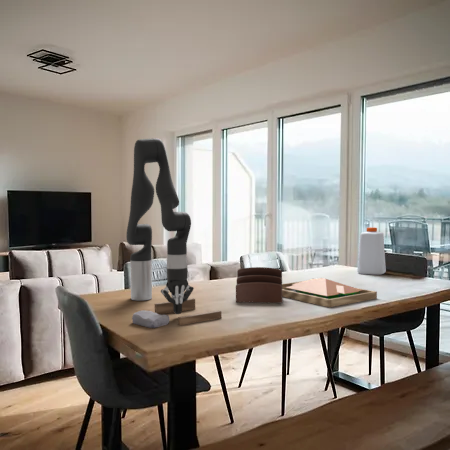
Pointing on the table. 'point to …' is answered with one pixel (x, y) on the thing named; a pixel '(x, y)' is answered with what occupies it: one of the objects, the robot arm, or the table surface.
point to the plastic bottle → (371, 253)
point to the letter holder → (259, 285)
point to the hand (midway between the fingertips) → (177, 313)
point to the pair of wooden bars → (187, 305)
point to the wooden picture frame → (325, 302)
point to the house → (324, 288)
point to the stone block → (150, 319)
